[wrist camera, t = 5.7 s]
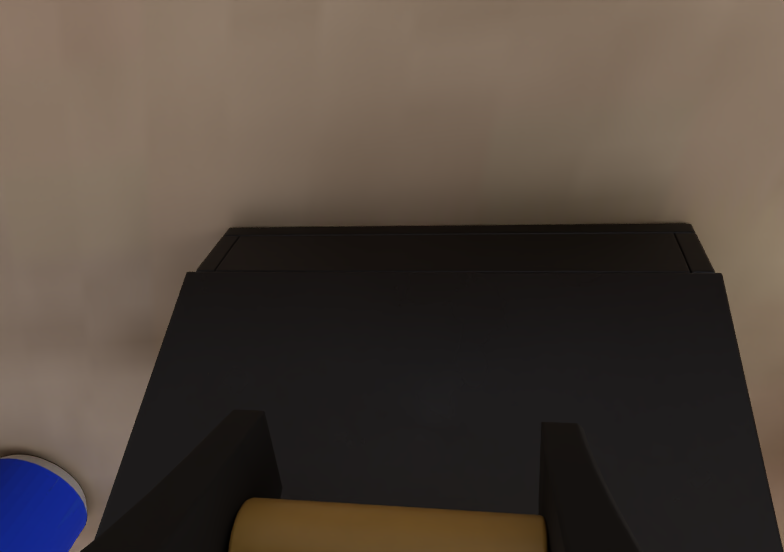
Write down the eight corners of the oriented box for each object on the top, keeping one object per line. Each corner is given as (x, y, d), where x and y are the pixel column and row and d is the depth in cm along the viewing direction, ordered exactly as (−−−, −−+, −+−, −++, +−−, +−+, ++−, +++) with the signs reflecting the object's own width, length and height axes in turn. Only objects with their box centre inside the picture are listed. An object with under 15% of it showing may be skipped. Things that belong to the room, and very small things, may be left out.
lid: (802, 687, 12) (918, 652, 9) (82, 617, 15) (-49, 568, 11) (717, 285, 17) (768, 163, 14) (193, 282, 20) (127, 178, 16)
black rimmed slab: (659, 432, 24) (675, 495, 21) (272, 416, 26) (249, 471, 24) (691, 222, 20) (716, 272, 17) (228, 227, 22) (194, 270, 20)
